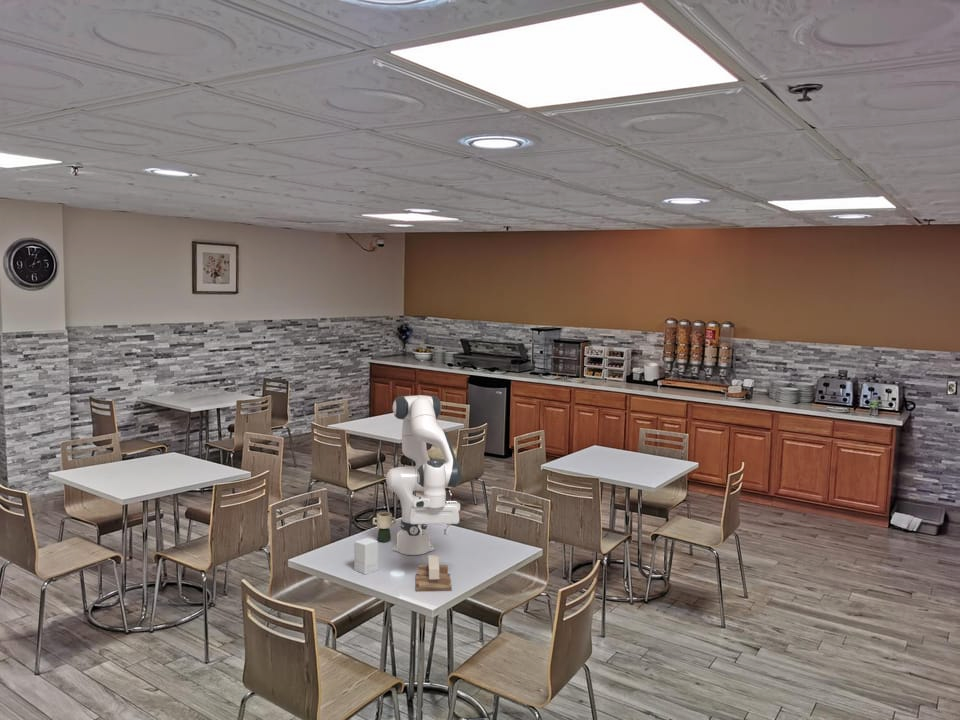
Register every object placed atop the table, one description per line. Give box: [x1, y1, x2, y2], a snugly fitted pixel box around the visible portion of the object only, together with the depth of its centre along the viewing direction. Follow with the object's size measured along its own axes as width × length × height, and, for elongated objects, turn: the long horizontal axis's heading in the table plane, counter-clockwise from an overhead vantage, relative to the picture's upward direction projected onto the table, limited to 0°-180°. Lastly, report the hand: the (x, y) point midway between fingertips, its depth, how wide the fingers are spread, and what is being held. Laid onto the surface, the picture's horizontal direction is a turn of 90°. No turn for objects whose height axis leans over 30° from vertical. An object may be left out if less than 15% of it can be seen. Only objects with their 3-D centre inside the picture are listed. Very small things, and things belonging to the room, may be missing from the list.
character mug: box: [372, 511, 397, 542], centre depth 338 cm, size 11×7×13 cm, turn 98°
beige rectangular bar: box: [427, 554, 440, 579], centre depth 286 cm, size 16×4×4 cm, turn 5°
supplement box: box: [353, 537, 379, 575], centre depth 300 cm, size 7×7×13 cm
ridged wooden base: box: [415, 564, 453, 592], centre depth 287 cm, size 15×14×5 cm
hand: (434, 534), depth 286 cm, fingers open, 8 cm apart
